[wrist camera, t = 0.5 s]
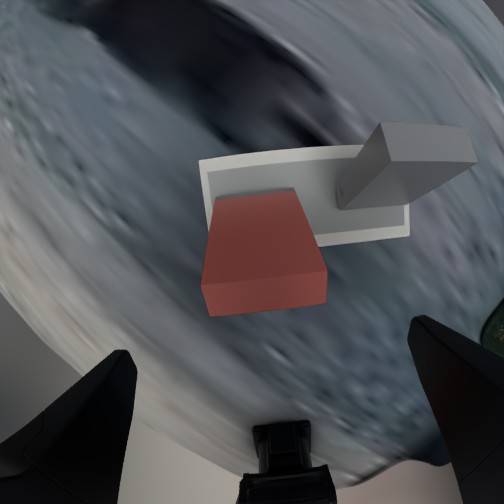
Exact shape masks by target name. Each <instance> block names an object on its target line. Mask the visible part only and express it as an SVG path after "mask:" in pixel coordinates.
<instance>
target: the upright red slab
mask: <svg viewBox="0 0 504 504" xmlns="http://www.w3.org/2000/svg"><path fill="white" fill-rule="evenodd" d="M327 274H328V270H327V268H326V265H325V262H324V260H323V257H322V255H321V252H320V250H319V247H318V244H317V242H316V239H315V237H314V235H313V232H312V230H311V227H310V225H309V222H308V220H307V217H306V215H305V213H304V210H303V208H302V206H301V203H300V201H299V198H298V196H297V194H296V192H295V189H294V187H293V188H283V189H274V190H265V191H256V192H248V193H240V194H232V195H225V196H218V197H215V202H214V207H213V213H212V218H211V224H210V230H209V236H208V242H207V248H206V254H205V260H204V266H203V273H202V279H201V289H202V292H203V295H204V299H205V302H206V305H207V309H208V312H209V315H210V317H213V316H224V315H234V314H244V313H254V312H263V311H272V310H280V309H288V308H296V307H304V306H311V305H318V304H325V303H326V292H327Z"/></svg>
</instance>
